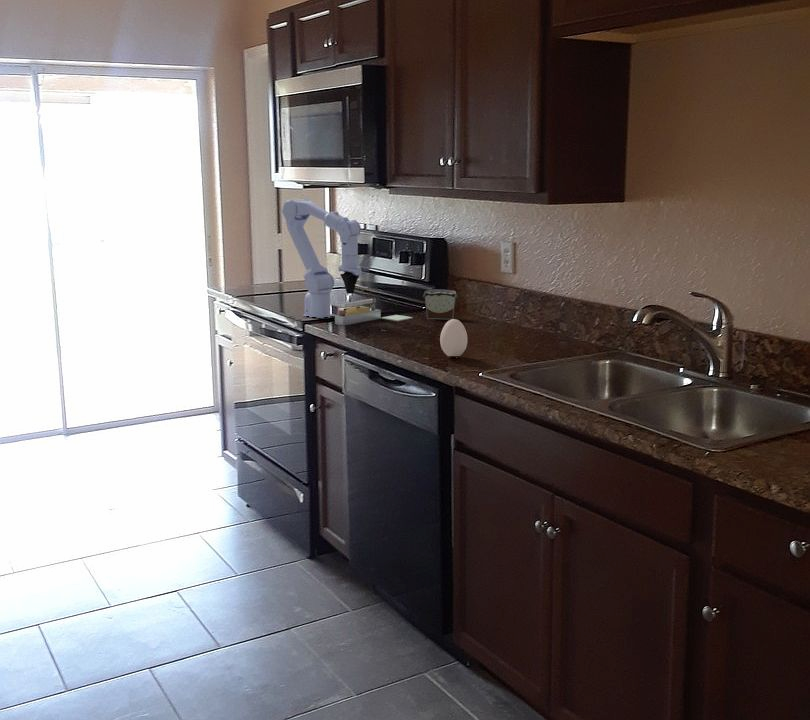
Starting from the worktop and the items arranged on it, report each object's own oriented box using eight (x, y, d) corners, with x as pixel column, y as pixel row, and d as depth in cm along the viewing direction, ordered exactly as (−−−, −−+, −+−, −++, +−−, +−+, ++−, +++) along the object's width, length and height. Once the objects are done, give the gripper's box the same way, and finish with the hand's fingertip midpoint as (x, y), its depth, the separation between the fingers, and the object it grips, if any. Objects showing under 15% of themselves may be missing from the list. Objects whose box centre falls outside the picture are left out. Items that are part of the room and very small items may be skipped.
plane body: (335, 324, 318) (334, 307, 316) (372, 317, 331) (372, 301, 330) (343, 325, 315) (342, 308, 314) (380, 318, 329) (380, 302, 327)
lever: (340, 306, 317) (340, 303, 317) (372, 301, 329) (372, 298, 329) (345, 307, 316) (345, 304, 315) (377, 302, 327) (377, 298, 327)
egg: (450, 353, 270) (451, 315, 268) (472, 357, 266) (473, 318, 263) (434, 357, 264) (434, 319, 262) (456, 361, 260) (457, 322, 257)
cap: (346, 312, 322) (346, 306, 321) (360, 310, 327) (360, 304, 326) (356, 314, 318) (356, 308, 318) (370, 312, 323) (369, 305, 323)
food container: (457, 316, 333) (458, 289, 331) (456, 319, 327) (457, 292, 325) (424, 316, 334) (424, 289, 332) (423, 318, 328) (423, 291, 326)
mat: (381, 318, 328) (381, 317, 328) (396, 315, 334) (396, 314, 334) (397, 321, 323) (397, 320, 323) (412, 318, 329) (412, 317, 329)
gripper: (369, 256, 315) (369, 295, 318) (350, 252, 327) (351, 290, 330) (351, 257, 311) (351, 296, 314) (332, 253, 324) (333, 291, 327)
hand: (350, 293), depth 322 cm, fingers closed
